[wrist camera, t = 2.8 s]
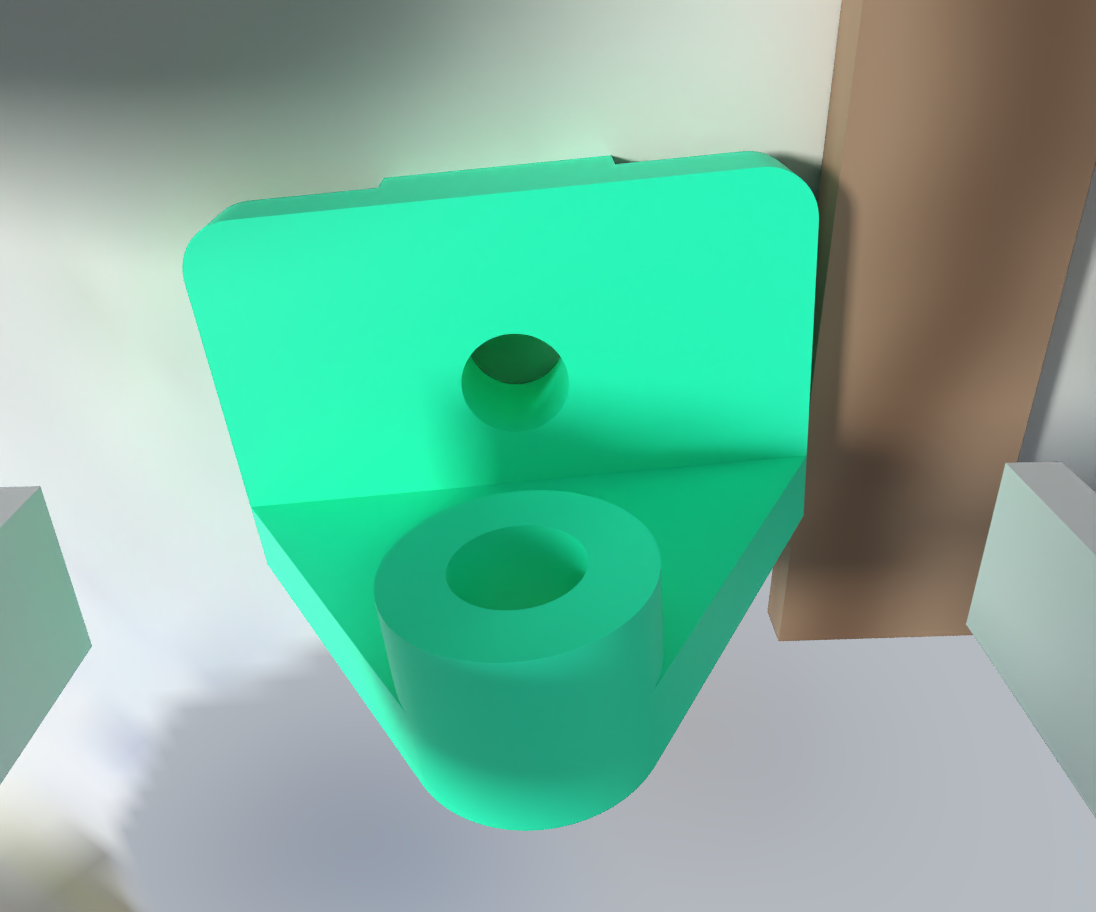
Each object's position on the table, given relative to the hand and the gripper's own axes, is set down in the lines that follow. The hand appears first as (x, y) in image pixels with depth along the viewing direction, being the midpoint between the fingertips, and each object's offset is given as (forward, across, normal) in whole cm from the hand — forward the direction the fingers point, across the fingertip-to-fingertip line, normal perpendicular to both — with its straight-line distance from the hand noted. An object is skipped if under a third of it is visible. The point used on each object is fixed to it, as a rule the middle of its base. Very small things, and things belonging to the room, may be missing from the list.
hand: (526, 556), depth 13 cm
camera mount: (+9, 0, 0) cm, 9 cm away
